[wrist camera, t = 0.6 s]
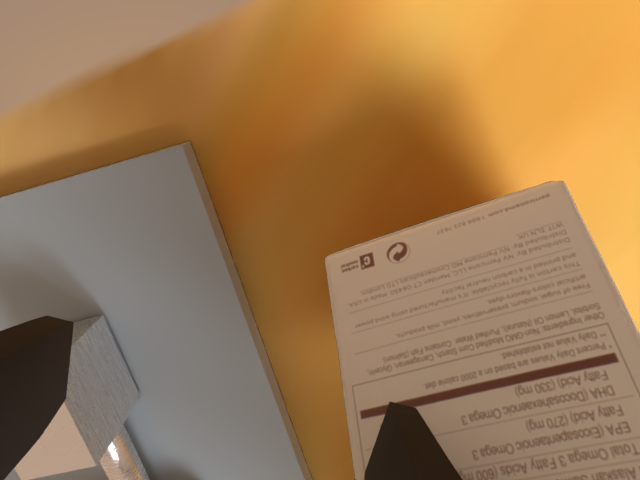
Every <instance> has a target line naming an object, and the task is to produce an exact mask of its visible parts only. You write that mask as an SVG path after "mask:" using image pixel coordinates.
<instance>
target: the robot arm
mask: <svg viewBox="0 0 640 480" xmlns="http://www.w3.org/2000/svg"><path fill="white" fill-rule="evenodd" d="M73 326H74V322H71V321H67V320H63V319H59V318H55V317H51V316H43V317H40V318H36V319H33V320H30V321H27V322H24V323H21V324H19V325H16V326H13V327H10V328H7V329H5V330H2V331H0V480H4V479H5V478H6V477H7V476H8V475H9V473H10V472H11V471H12V470H13V469H14V468H15V467H16V465H17V464H18V463H19V462H20V461H21V460H22V458H23V457H24V456H25V455H26V454H27V453H28V451H29V450H30V449H31V448H32V447H33V445H34V444H35V443H36V442H37V441H38V440H39V438H40V437H41V435H42V434H43V433H44V431H45V430H46V428H47V427H48V425H49V424H50V422H51V421H52V419H53V418H54V416H55V415H56V413H57V412H58V410H59V409H60V407H61V406H62V404H63V402H64V401H65V399H66V394H67V384H68V375H69V365H70V355H71V345H72V336H73ZM364 480H463V479H462V478H461V476H460V475H459V474H458V472H457V471H456V469H455V468H454V466H453V465H452V463H451V462H450V460H449V459H448V457H447V456H446V454H445V453H444V451H443V449H442V448H441V446H440V445H439V443H438V442H437V440H436V438H435V437H434V435H433V434H432V432H431V430H430V429H429V427H428V426H427V424H426V422H425V421H424V419H423V418H422V416H421V415H420V413H419V412H418V410H417V409H416V408H414V407H410V406H406V405H402V404H398V403H394V402H389V405H388V408H387V410H386V413H385V416H384V419H383V422H382V425H381V428H380V430H379V433H378V436H377V439H376V442H375V445H374V448H373V450H372V453H371V456H370V459H369V462H368V465H367V467H366V470H365V477H364Z"/></svg>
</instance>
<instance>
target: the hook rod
mask: <svg viewBox="0 0 640 480" xmlns="http://www.w3.org/2000/svg"><path fill="white" fill-rule="evenodd" d="M139 399H140V394H139V392H138V390H137V388H136V386H135V383H134V381H133V379H132V377H131V375H130V372H129V370H128V368H127V366H126V364H125V362H124V359H123V357H122V355H121V353H120V351H119V348H118V346H117V344H116V342H115V340H114V338H113V335H112V333H111V331H110V329H109V327H108V324H107V322H106V320H105V318H104V316H103V315H100V316H96V317H92V318H88V319H84V320H80V321H76V322H74V326H73V336H72V345H71V355H70V365H69V375H68V384H67V394H66V399H65V401H64V402H63V404H62V406H61V407H60V409H59V410H58V412H57V413H56V415H55V416H54V418H53V419H52V421H51V422H50V424H49V425H48V427H47V428H46V430H45V431H44V433H43V434H42V435H41V437H40V438H39V440H38V441H37V442H36V443H35V444H34V445H33V447H32V448H31V449H30V450H29V451H28V453H27V454H26V455H25V456H24V457H23V458H22V460H21V461H20V462H19V463H18V464H17V465H16V467H15V470H16V472H17V474H18V475H19V477H20V479H21V480H30V479H35V478H39V477H44V476H49V475H54V474H59V473H64V472H69V471H74V470H79V469H84V468H89V467H94V466H97V464H98V463H99V461H100V463H101V465H102V467H103V469H104V471H105V473H106V475H107V477H108V479H109V480H150V479H149V477H148V475H147V472H146V470H145V468H144V466H143V464H142V462H141V460H140V458H139V456H138V454H137V452H136V449H135V447H134V445H133V443H132V441H131V439H130V437H129V435H128V433H127V431H126V429H125V426H124V422H125V421H126V419H127V417H128V416H129V414H130V413H131V411H132V410H133V408H134V406H135V405H136V403H137V402H138V400H139Z"/></svg>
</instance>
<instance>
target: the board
mask: <svg viewBox="0 0 640 480" xmlns="http://www.w3.org/2000/svg"><path fill="white" fill-rule="evenodd" d="M100 315H103V316H104V318H105V320H106V322H107V324H108V327H109V329H110V331H111V333H112V335H113V338H114V340H115V342H116V344H117V346H118V348H119V351H120V353H121V355H122V357H123V359H124V362H125V364H126V366H127V368H128V370H129V372H130V375H131V377H132V379H133V381H134V383H135V386H136V388H137V390H138V392H139V394H140V399H139V400H138V402H137V403H136V405H135V406H134V408H133V410H132V411H131V413H130V414H129V416H128V417H127V419H126V421H125V422H124V426H125V429H126V431H127V433H128V435H129V437H130V439H131V441H132V443H133V445H134V447H135V449H136V452H137V454H138V456H139V458H140V460H141V462H142V464H143V466H144V468H145V470H146V472H147V475H148V477H149V479H150V480H312V478H311V475H310V472H309V469H308V467H307V464H306V461H305V458H304V455H303V453H302V450H301V447H300V444H299V442H298V439H297V436H296V433H295V431H294V428H293V425H292V422H291V419H290V417H289V414H288V411H287V408H286V406H285V403H284V400H283V397H282V394H281V392H280V389H279V386H278V383H277V381H276V378H275V375H274V372H273V369H272V367H271V364H270V361H269V358H268V356H267V353H266V350H265V347H264V344H263V342H262V339H261V336H260V333H259V331H258V328H257V325H256V322H255V319H254V317H253V314H252V311H251V308H250V306H249V303H248V300H247V297H246V294H245V292H244V289H243V286H242V283H241V281H240V278H239V275H238V272H237V269H236V267H235V264H234V261H233V258H232V256H231V253H230V250H229V247H228V244H227V242H226V239H225V236H224V233H223V231H222V228H221V225H220V222H219V219H218V217H217V214H216V211H215V208H214V206H213V203H212V200H211V197H210V194H209V192H208V189H207V186H206V183H205V181H204V178H203V175H202V172H201V169H200V167H199V164H198V161H197V158H196V156H195V153H194V150H193V147H192V144H191V142H190V141H188V142H185V143H182V144H178V145H175V146H171V147H168V148H165V149H161V150H158V151H154V152H151V153H148V154H144V155H141V156H137V157H134V158H131V159H127V160H124V161H120V162H117V163H114V164H110V165H107V166H103V167H100V168H97V169H93V170H90V171H86V172H83V173H80V174H76V175H73V176H69V177H66V178H63V179H59V180H56V181H52V182H49V183H46V184H42V185H39V186H35V187H32V188H29V189H25V190H22V191H18V192H15V193H12V194H8V195H5V196H1V197H0V331H2V330H5V329H7V328H10V327H13V326H16V325H19V324H21V323H24V322H27V321H30V320H33V319H36V318H40V317H43V316H51V317H55V318H59V319H63V320H67V321H71V322H76V321H80V320H84V319H88V318H92V317H96V316H100ZM4 480H21V479H20V477H19V475H18V474H17V472H16V470H15V468H14V469H13V470H12V471H11V472H10V473H9V475H8V476H7V477H6V478H5V479H4ZM30 480H109V479H108V477H107V475H106V473H105V471H104V469H103V467H102V465H101V463H100V461H99V463H98V464H97V466H94V467H89V468H84V469H79V470H74V471H69V472H64V473H59V474H54V475H49V476H44V477H39V478H35V479H30Z"/></svg>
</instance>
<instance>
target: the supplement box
mask: <svg viewBox="0 0 640 480" xmlns="http://www.w3.org/2000/svg"><path fill="white" fill-rule="evenodd" d="M325 267H326V272H327V280H328V287H329V295H330V302H331V308H332V315H333V322H334V329H335V336H336V342H337V349H338V356H339V364H340V372H341V379H342V386H343V394H344V401H345V409H346V416H347V423H348V431H349V438H350V445H351V453H352V460H353V467H354V474H355V480H364V477H365V470H366V467H367V465H368V462H369V459H370V456H371V453H372V450H373V448H374V445H375V442H376V439H377V436H378V433H379V430H380V428H381V425H382V422H383V419H384V416H385V413H386V410H387V408H388V405H389V402H394V403H398V404H402V405H406V406H410V407H414V408H416V409H417V410H418V412H419V413H420V415H421V416H422V418H423V419H424V421H425V422H426V424H427V426H428V427H429V429H430V430H431V432H432V434H433V435H434V437H435V438H436V440H437V442H438V443H439V445H440V446H441V448H442V449H443V451H444V453H445V454H446V456H447V457H448V459H449V460H450V462H451V463H452V465H453V466H454V468H455V469H456V471H457V472H458V474H459V475H460V476H461V478H462V479H463V480H640V334H639V332H638V330H637V328H636V326H635V324H634V322H633V320H632V318H631V316H630V313H629V311H628V309H627V307H626V305H625V303H624V301H623V299H622V297H621V295H620V293H619V291H618V289H617V287H616V285H615V283H614V281H613V279H612V277H611V275H610V273H609V271H608V269H607V267H606V265H605V263H604V261H603V259H602V257H601V255H600V253H599V251H598V249H597V247H596V245H595V243H594V241H593V239H592V237H591V235H590V233H589V231H588V229H587V227H586V225H585V223H584V221H583V219H582V217H581V215H580V213H579V211H578V209H577V207H576V205H575V202H574V200H573V198H572V196H571V194H570V192H569V190H568V188H567V186H566V184H565V183H564V182H563V181H549V182H546V183H543V184H540V185H537V186H534V187H531V188H527V189H524V190H521V191H518V192H514V193H511V194H508V195H505V196H502V197H499V198H497V199H494V200H491V201H487V202H484V203H481V204H478V205H475V206H472V207H469V208H466V209H463V210H460V211H457V212H454V213H450V214H447V215H444V216H441V217H438V218H435V219H432V220H429V221H426V222H423V223H420V224H417V225H414V226H411V227H408V228H405V229H402V230H399V231H396V232H393V233H390V234H387V235H384V236H381V237H378V238H375V239H372V240H369V241H366V242H364V243H361V244H358V245H355V246H352V247H349V248H346V249H343V250H340V251H338V252H335V253H333V254H331V255H329V256H327V257H326V258H325Z"/></svg>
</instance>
